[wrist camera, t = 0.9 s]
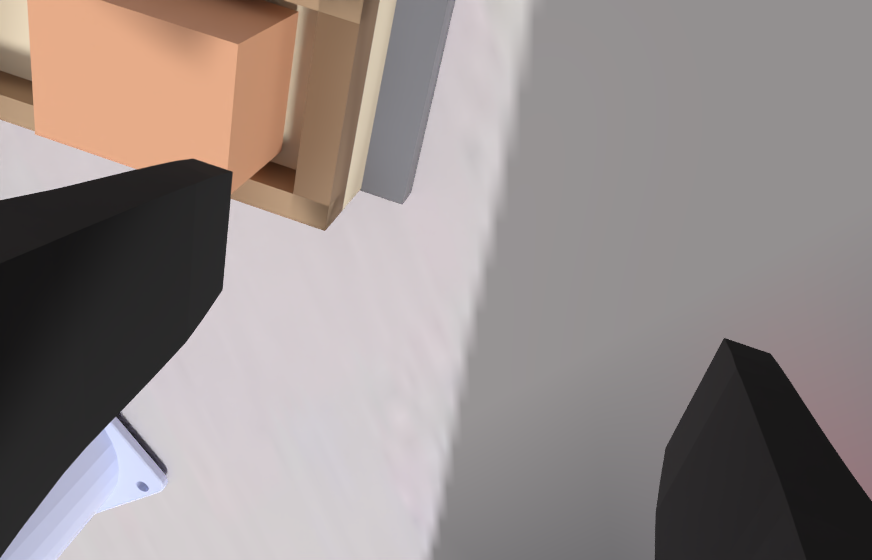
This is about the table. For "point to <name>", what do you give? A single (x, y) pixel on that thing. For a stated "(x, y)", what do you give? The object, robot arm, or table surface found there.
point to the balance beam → (316, 101)
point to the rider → (164, 79)
